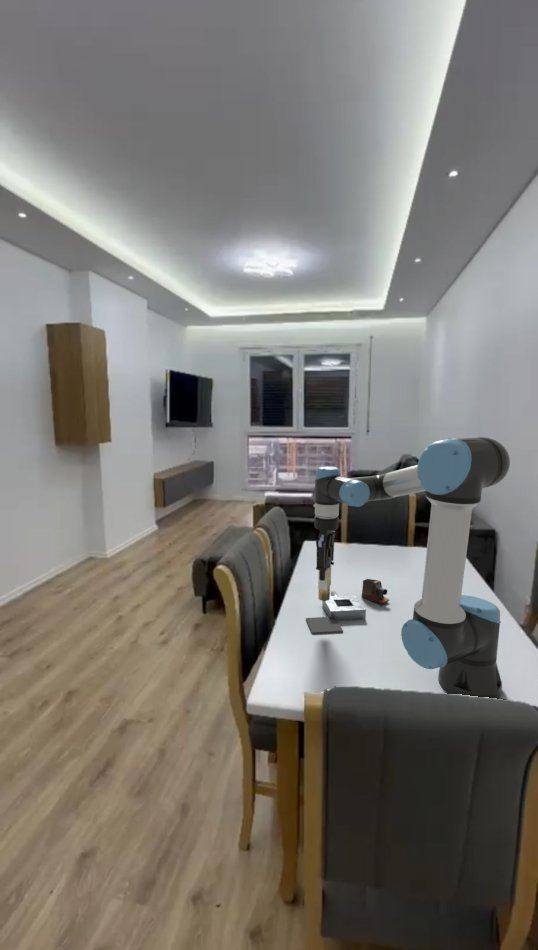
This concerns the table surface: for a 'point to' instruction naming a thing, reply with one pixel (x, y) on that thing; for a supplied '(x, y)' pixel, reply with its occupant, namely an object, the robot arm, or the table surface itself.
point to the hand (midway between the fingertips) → (324, 586)
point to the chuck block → (344, 607)
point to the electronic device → (374, 591)
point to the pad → (323, 625)
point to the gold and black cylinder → (325, 594)
